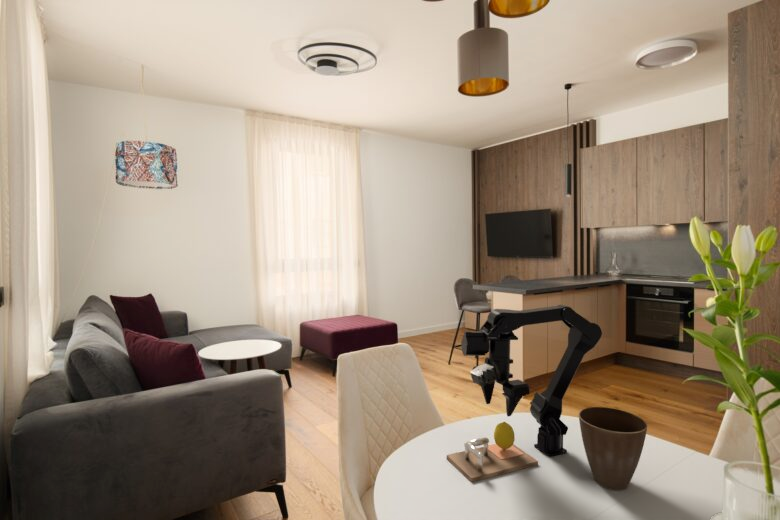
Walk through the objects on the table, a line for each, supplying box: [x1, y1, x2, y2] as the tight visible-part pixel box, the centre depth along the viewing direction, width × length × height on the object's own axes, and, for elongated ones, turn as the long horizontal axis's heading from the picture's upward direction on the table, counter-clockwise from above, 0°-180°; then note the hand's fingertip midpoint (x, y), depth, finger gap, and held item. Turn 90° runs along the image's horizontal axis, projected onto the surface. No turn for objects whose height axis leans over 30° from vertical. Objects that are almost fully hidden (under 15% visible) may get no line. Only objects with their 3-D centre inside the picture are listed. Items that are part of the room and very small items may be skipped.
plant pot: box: [578, 406, 648, 491], centre depth 104 cm, size 15×15×16 cm
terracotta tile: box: [488, 443, 524, 460], centre depth 117 cm, size 8×8×1 cm
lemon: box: [493, 421, 515, 450], centre depth 117 cm, size 6×6×8 cm
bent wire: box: [464, 437, 490, 472], centre depth 111 cm, size 8×8×5 cm
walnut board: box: [446, 443, 539, 483], centre depth 113 cm, size 21×12×1 cm, turn 113°
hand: (498, 409), depth 118 cm, fingers open, 9 cm apart
